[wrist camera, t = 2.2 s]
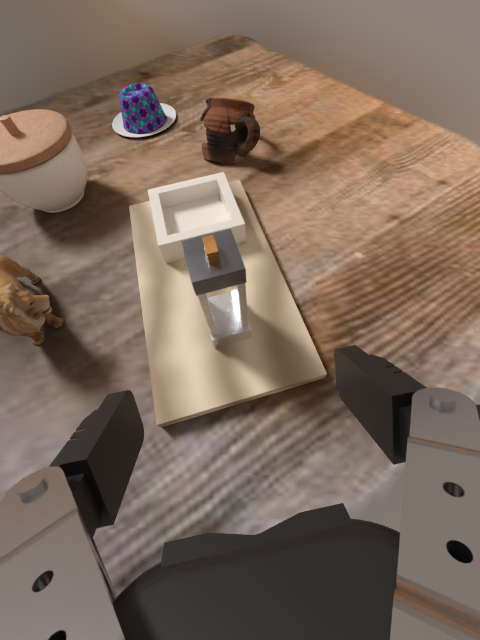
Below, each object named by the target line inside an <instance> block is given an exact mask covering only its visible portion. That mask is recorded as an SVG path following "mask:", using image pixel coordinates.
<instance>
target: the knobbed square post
mask: <svg viewBox="0 0 480 640" xmlns="http://www.w3.org/2000/svg"><path fill="white" fill-rule="evenodd" d="M181 242H182V246H183V250H184V254H185V258H186V262H187V266H188V271H189V275H190V279H191V283H192V286H193V288H194V291H195V294H196V296H198V298H199V301H200V304H201V307H202V309H203V312H204V315H205V318H206V321H207V324H208V327H209V331H210V335H211V339H212V342H213V345H214V347H215V348H217V347H220V346H224V345H227V344H231V343H234V342H238V341H241V340H245V339H248V338H251V329H250V326H249V323H248V312H247V299H246V286H245V283H246V282H247V281H246V268H245V266H244V263H243V260H242V258H241V255H240V252H239V250H238V247H237V244H236V242H235V239H234V236H233V234H232V231H231V229H227V230H223V231H219V232H215V233H211V234H207V235H203V236H199V237H195V238H191V239H188V240H184V241H181ZM228 287H231V292H228V293H224V294H220V295H216V296H213V297H209V298H208V296H207V293H209V292H213V291H217V290H220V289H224V288H228Z"/></svg>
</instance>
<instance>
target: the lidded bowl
mask: <svg viewBox="0 0 480 640" xmlns="http://www.w3.org/2000/svg"><path fill="white" fill-rule="evenodd" d="M86 182H87V167H86V163H85V160H84V156H83V154H82V151H81V149H80V146H79V144H78V142H77V140H76V138H75V137H74V135H73V133H72V130H71V127H70V125H69V123H68V122H67V120H66V119H65V117H64V116H62V115H61V114H59V113H57V112H55V111H51V110H41V109H37V110H26V111H21V112H17V113H13V114H9V115H4V116H2V117H0V191H2V192H3V193H4V194H6V195H7V196H8V197H10V198H11V199H12V200H14V201H16V202H18V203H20V204H22V205H24V206H27V207H29V208H33V209H37V210H42V211H44V212H48V213H57V212H62V211H65V210H68V209H70V208H72V207H74V206H75V205H76V204H78V203H79V202H80V201H81V199H82V198H83V196H84V193H85V190H84V189H85V186H86Z"/></svg>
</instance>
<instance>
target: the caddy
mask: <svg viewBox="0 0 480 640" xmlns="http://www.w3.org/2000/svg"><path fill="white" fill-rule="evenodd" d="M148 194H149V199H150V205H151V210H152V216H153V221H154V226H155V232H156V237H157V243H158V247H159V249H160V251H161V253H162V256H163V258H164V260H165V262H166V263H170V262H174V261H178V260H182V259H185V254H184V250H183V246H182V242H181V241H184V240H188V239H191V238H195V237H199V236H203V235H207V234H211V233H215V232H219V231H223V230H227V229H231V231H232V234H233V236H234V239H235V242H236V244H237V245H240V244H244V243H246V231H245V222H244V220H243V218H242V215H241V213H240V210H239V208H238V206H237V203H236V201H235V198H234V196H233V194H232V191H231V189H230V186H229V184H228V182H227V179H226V177H225V174H224V172H222V173H217V174H213V175H209V176H205V177H200V178H196V179H192V180H188V181H183V182H179V183H175V184H170V185H166V186H162V187H158V188H153V189H149V190H148Z"/></svg>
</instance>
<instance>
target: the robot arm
mask: <svg viewBox="0 0 480 640" xmlns="http://www.w3.org/2000/svg"><path fill="white" fill-rule="evenodd" d="M334 360H335V372H336V383H337V389H338V393H339V395H340V397H341V399H342V401H343V402H344V403H345V405H346V406H347V407H348V408H349V410H350V411H351V412H352V413H353V415H354V416H355V417H356V418H357V419H358V421H359V422H360V423H361V424H362V426H363V427H364V428H365V429H366V431H367V432H368V433H369V434H370V436H371V437H372V438H373V439H374V441H375V442H376V443H377V444H378V446H379V447H380V448H381V449H382V451H383V452H384V453H385V454H386V456H387V457H388V458H389V459H390V461H391V462H392V463H393V464H398V463H403V462H406V465H405V478H404V491H403V504H402V517H401V530H400V532H398V531H396V530H393V529H391V528H388V527H385V526H383V525H380V524H377V523H373V522H369V521H363V520H358V519H350V517H349V515H348V512H347V510H346V508H345V506H344V504H343V503H341V504H337V505H332V506H328V507H323V508H319V509H314V510H310V511H305V512H301V513H298V514H296V515H294V516H293V517H291V518H289V519H287V520H285V521H283V522H281V523H279V524H277V525H275V526H273V527H271V528H269V529H268V530H266V531H264V532H262V533H260V534H256V535H242V534H222V533H206V534H202V535H197V536H193V537H188V538H184V539H179V540H175V541H170V542H166V543H164V549H163V555H162V561H161V562H160V563H158V564H156V565H155V566H153V567H152V568H150V569H149V570H147V571H146V572H144V573H143V574H142V575H140V576H139V577H138V578H137V579H135V580H134V581H133V582H132V583H131V584H130V585H129V586H128V587H127V588H126V589H124V590H123V591H122V592H121V594H120V595H119V596H118V597H117V596H116V593H115V591H114V588H113V586H112V583H111V581H110V578H109V576H108V573H107V571H106V568H105V566H104V563H103V561H102V558H101V556H100V553H99V551H98V548H97V546H96V543H95V541H94V539H93V536H94V533H95V531H96V528H100V527H104V526H109V525H113V524H114V521H115V519H116V516H117V513H118V510H119V507H120V505H121V502H122V499H123V496H124V494H125V491H126V488H127V485H128V482H129V480H130V477H131V474H132V471H133V468H134V466H135V463H136V460H137V457H138V454H139V452H140V449H141V446H142V443H143V440H144V428H143V423H142V420H141V417H140V414H139V411H138V408H137V405H136V402H135V399H134V396H133V394H132V392H131V391H130V390H127V391H122V392H117V393H112V394H109V395H107V397H106V398H105V400H104V401H103V403H102V404H101V405H100V407H99V408H98V410H95V411H94V412H92V413H91V414H90V415H89V416H88V417H86V418H85V419H84V420H83V421H82V423H81V424H80V425H79V427H78V428H77V429H76V432H74V433H73V435H72V436H71V438H70V440H69V441H68V442H67V443H66V444H65V446H64V447H63V448H62V450H61V451H60V452H59V454H58V455H57V457H56V458H55V459H54V461H53V462H52V463H51V465H50V466H49V467H47V468H44V469H41V470H38V471H36V472H34V473H32V474H30V475H28V476H26V477H25V478H23V479H22V480H20V481H19V482H18V483H16V484H15V485H14V486H13V487H12V488H11V489H10V490H9V491H8V492H7V493H6V494H5V495H4V496H3V498H2V499H1V501H0V640H480V405H475V403H474V402H473V401H472V400H471V399H470V398H469V397H467V396H466V395H464V394H462V393H459V392H456V391H453V390H449V389H444V388H427V387H425V386H424V385H422V384H421V383H419V382H418V381H416V380H415V379H414V378H412V377H411V376H409V375H408V374H406V373H405V372H402V370H400V369H399V368H398V367H395V366H394V365H393V364H392V363H390V362H389V361H387V360H386V359H384V358H381V357H378V356H375V355H372V354H371V355H368V354H367V353H365V352H364V351H363V350H361V349H360V348H359V347H357V346H356V345H352V346H347V347H343V348H338V349H335V351H334Z"/></svg>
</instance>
